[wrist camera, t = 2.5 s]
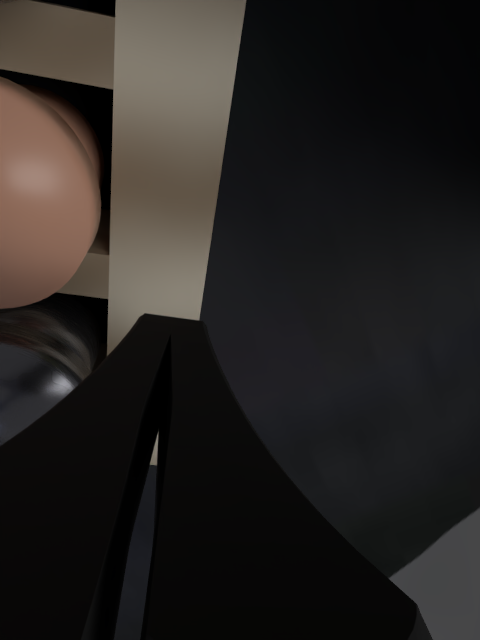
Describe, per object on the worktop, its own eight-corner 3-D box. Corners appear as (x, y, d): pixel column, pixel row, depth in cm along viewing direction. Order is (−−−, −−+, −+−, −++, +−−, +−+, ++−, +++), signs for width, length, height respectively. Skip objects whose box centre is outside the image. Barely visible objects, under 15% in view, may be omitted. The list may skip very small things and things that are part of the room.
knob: (41, 403, 19) (-4, 497, 15) (-59, 311, 17) (-142, 395, 13) (145, 352, 18) (124, 439, 14) (54, 244, 15) (0, 314, 12)
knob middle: (30, 265, 16) (-30, 340, 12) (-96, 122, 13) (-224, 160, 9) (157, 190, 15) (135, 247, 11) (44, 18, 12) (-37, 13, 8)
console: (183, 403, 23) (177, 466, 20) (-47, 380, 22) (-95, 443, 19) (291, -352, 11) (323, -526, 7) (-227, -514, 9) (-474, -817, 6)
